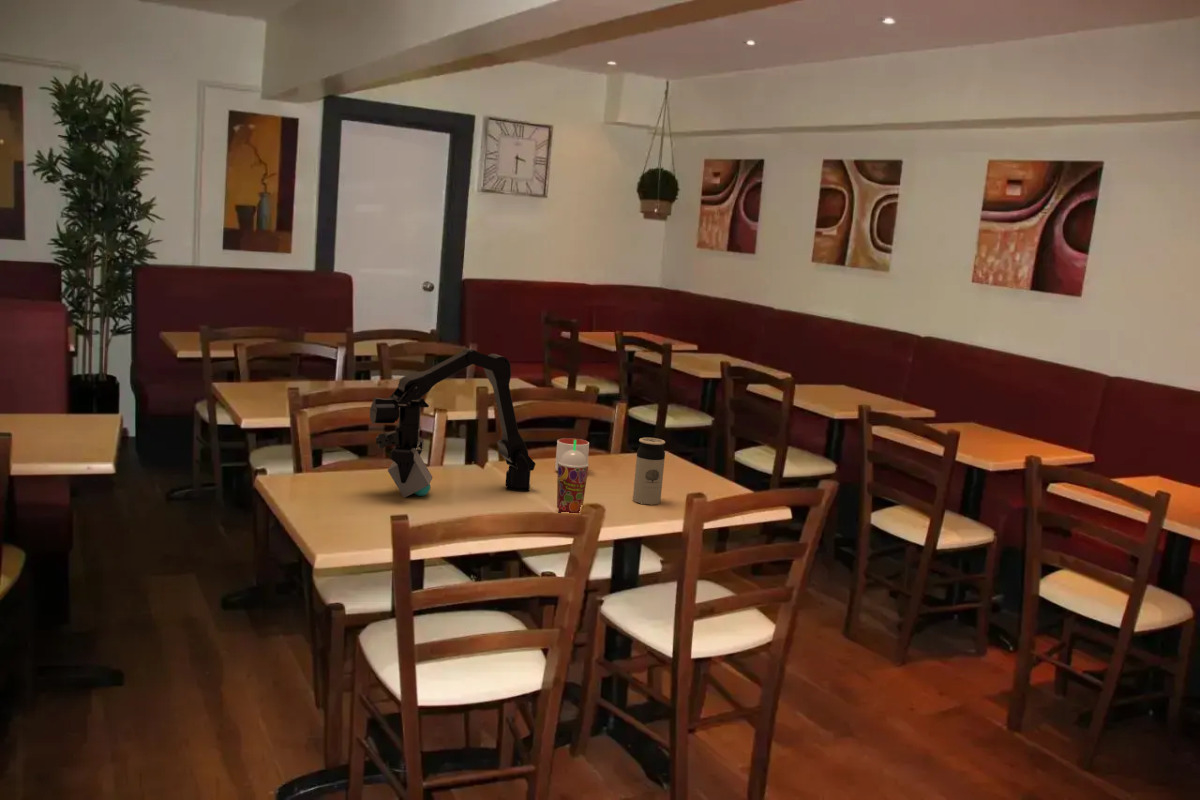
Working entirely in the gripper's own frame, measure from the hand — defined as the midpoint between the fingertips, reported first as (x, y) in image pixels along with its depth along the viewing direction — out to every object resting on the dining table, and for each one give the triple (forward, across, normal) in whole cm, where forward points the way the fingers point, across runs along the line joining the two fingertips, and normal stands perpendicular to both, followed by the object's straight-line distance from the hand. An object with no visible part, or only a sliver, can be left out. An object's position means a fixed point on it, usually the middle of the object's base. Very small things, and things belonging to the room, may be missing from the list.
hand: (405, 479), depth 276 cm
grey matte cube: (+2, 0, +4) cm, 4 cm away
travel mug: (+4, -12, +67) cm, 68 cm away
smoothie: (+4, +6, +45) cm, 46 cm away
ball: (+2, 0, +4) cm, 5 cm away
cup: (+4, -41, +45) cm, 61 cm away
